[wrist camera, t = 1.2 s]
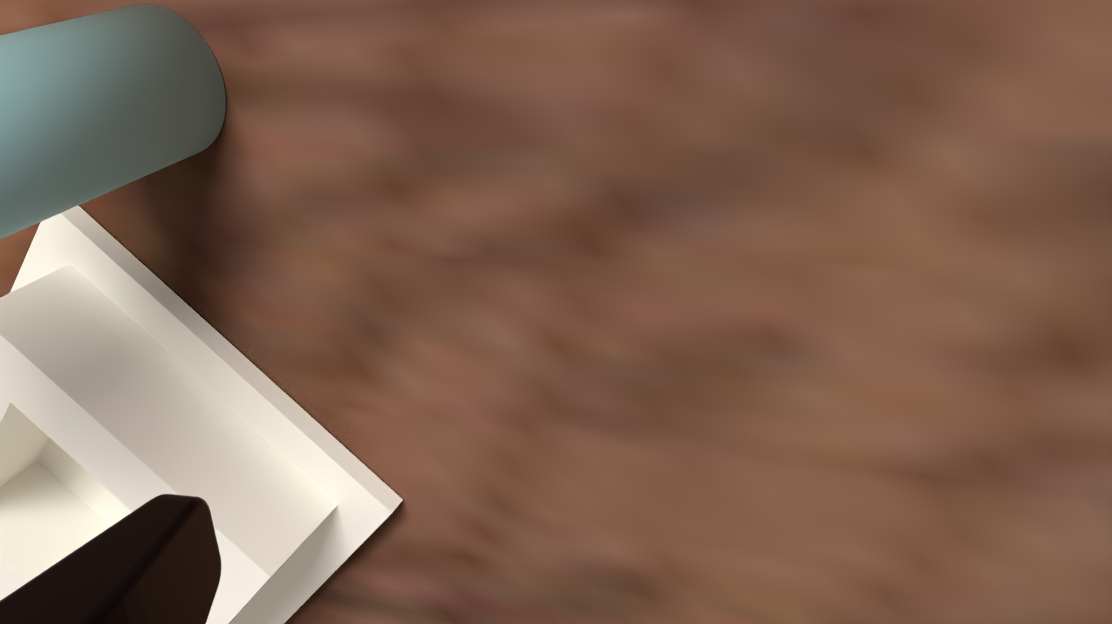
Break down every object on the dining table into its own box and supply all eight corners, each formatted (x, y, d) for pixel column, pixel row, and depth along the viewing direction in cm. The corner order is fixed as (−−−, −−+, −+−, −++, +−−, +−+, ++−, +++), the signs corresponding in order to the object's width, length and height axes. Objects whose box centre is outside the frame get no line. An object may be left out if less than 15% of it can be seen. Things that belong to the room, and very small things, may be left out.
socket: (402, 500, 26) (328, 587, 23) (228, 678, 33) (153, 764, 30) (67, 195, 26) (-52, 245, 23) (-41, 437, 33) (-144, 500, 30)
